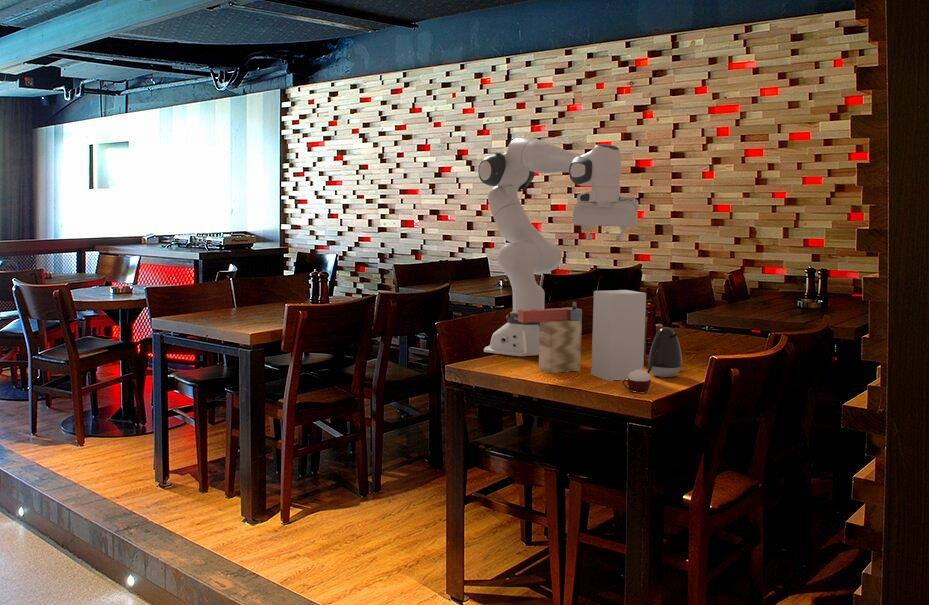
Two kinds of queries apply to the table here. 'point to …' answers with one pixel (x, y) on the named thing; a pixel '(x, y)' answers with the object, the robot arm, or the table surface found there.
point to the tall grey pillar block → (618, 333)
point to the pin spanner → (550, 314)
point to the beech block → (560, 346)
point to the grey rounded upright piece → (666, 353)
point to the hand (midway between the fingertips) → (604, 240)
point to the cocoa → (640, 378)
